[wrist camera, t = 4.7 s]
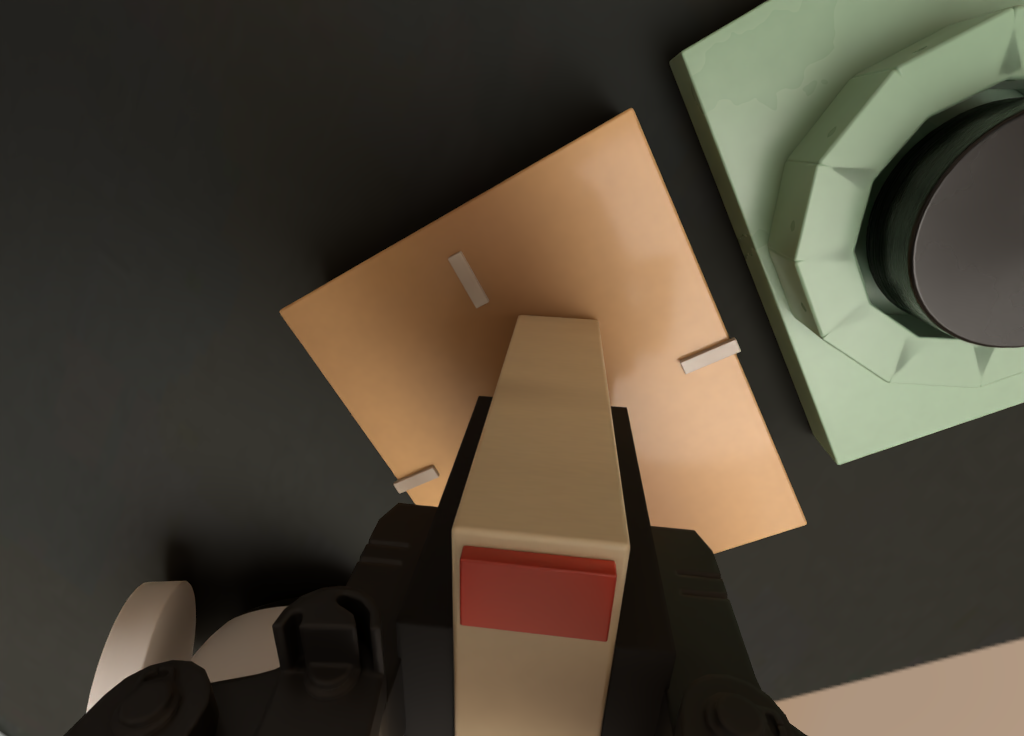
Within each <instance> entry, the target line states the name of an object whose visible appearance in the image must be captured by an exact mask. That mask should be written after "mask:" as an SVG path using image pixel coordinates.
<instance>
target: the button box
mask: <svg viewBox="0 0 1024 736" xmlns="http://www.w3.org/2000/svg"><path fill="white" fill-rule="evenodd" d="M669 64H670V67H671V70H672V72H673V75H674V77H675V80H676V82H677V85H678V88H679V90H680V93H681V95H682V98H683V100H684V103H685V106H686V108H687V111H688V113H689V116H690V118H691V121H692V124H693V126H694V129H695V131H696V134H697V136H698V139H699V142H700V144H701V147H702V149H703V152H704V154H705V157H706V160H707V162H708V165H709V167H710V170H711V173H712V175H713V178H714V180H715V183H716V185H717V188H718V191H719V193H720V196H721V198H722V201H723V203H724V206H725V209H726V211H727V214H728V216H729V219H730V221H731V224H732V227H733V229H734V232H735V234H736V237H737V239H738V242H739V245H740V247H741V250H742V252H743V255H744V257H745V260H746V263H747V265H748V268H749V270H750V273H751V275H752V278H753V281H754V283H755V286H756V288H757V291H758V294H759V296H760V299H761V301H762V304H763V306H764V309H765V312H766V314H767V317H768V319H769V322H770V324H771V327H772V330H773V332H774V335H775V337H776V340H777V342H778V345H779V348H780V350H781V353H782V355H783V358H784V360H785V363H786V366H787V368H788V371H789V373H790V376H791V378H792V381H793V384H794V386H795V389H796V391H797V394H798V396H799V399H800V402H801V404H802V407H803V409H804V412H805V415H806V417H807V420H808V422H809V425H810V427H811V430H812V433H813V435H814V437H815V438H816V439H817V440H818V442H819V443H820V444H821V445H822V447H823V448H824V449H825V450H826V452H827V453H828V454H829V455H830V456H831V458H832V459H833V460H834V461H835V463H836V464H837V465H841V464H843V463H846V462H849V461H852V460H855V459H858V458H861V457H864V456H867V455H870V454H873V453H876V452H879V451H882V450H885V449H888V448H891V447H894V446H896V445H899V444H902V443H905V442H908V441H911V440H914V439H917V438H920V437H923V436H926V435H929V434H932V433H935V432H938V431H941V430H944V429H947V428H950V427H952V426H955V425H958V424H961V423H964V422H967V421H970V420H973V419H976V418H979V417H982V416H985V415H988V414H991V413H994V412H997V411H1000V410H1003V409H1005V408H1008V407H1011V406H1014V405H1017V404H1020V403H1023V402H1024V347H1020V348H993V347H985V346H979V345H975V344H971V343H967V342H964V341H962V340H959V339H957V338H954V337H952V336H950V335H948V334H946V333H944V332H942V331H941V330H939V329H937V328H935V327H933V326H931V325H929V324H927V323H925V322H923V321H921V320H919V319H917V318H915V317H913V316H911V315H910V314H908V313H906V312H904V311H903V310H901V309H899V308H898V307H896V306H895V305H894V304H893V303H891V302H890V301H889V300H888V299H887V298H886V297H885V296H884V294H883V293H882V292H881V291H880V289H879V288H878V286H877V285H876V283H875V281H874V279H873V277H872V274H871V272H870V269H869V265H868V260H867V255H866V232H867V225H868V221H869V216H870V213H871V210H872V207H873V204H874V201H875V199H876V197H877V195H878V193H879V191H880V189H881V187H882V185H883V183H884V182H885V180H886V179H887V177H888V176H889V174H890V172H891V171H892V170H893V169H894V167H895V166H896V165H897V163H898V162H899V161H900V160H901V158H902V157H903V156H904V155H905V154H906V153H907V152H908V151H909V150H910V149H911V148H912V147H913V146H914V145H915V144H916V143H918V142H919V141H920V140H921V139H922V138H924V137H925V136H926V135H927V134H928V133H930V132H931V131H933V130H934V129H935V128H937V127H938V126H940V125H941V124H943V123H944V122H946V121H948V120H950V119H951V118H953V117H955V116H957V115H959V114H960V113H963V112H965V111H967V110H970V109H972V108H975V107H977V106H980V105H983V104H987V103H990V102H993V101H997V100H1003V99H1009V98H1015V97H1024V0H767V1H766V2H764V3H762V4H760V5H759V6H757V7H755V8H754V9H752V10H750V11H749V12H747V13H745V14H744V15H742V16H740V17H738V18H737V19H735V20H733V21H732V22H730V23H728V24H727V25H725V26H723V27H722V28H720V29H718V30H717V31H715V32H713V33H711V34H710V35H708V36H706V37H705V38H703V39H701V40H700V41H698V42H696V43H695V44H693V45H691V46H689V47H688V48H686V49H684V50H683V51H681V52H680V53H679V54H678V55H677V56H675V57H674V58H673V59H672V60H671V61H670V62H669Z"/></svg>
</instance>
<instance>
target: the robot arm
mask: <svg viewBox="0 0 1024 736" xmlns="http://www.w3.org/2000/svg"><path fill="white" fill-rule="evenodd" d="M492 399H493V397H489V396H479V397H478V399H477V402H476V405H475V407H474V410H473V413H472V416H471V418H470V421H469V424H468V426H467V429H466V432H465V435H464V437H463V440H462V443H461V445H460V448H459V451H458V453H457V456H456V459H455V462H454V464H453V467H452V470H451V472H450V475H449V478H448V481H447V483H446V486H445V489H444V491H443V494H442V497H441V500H440V502H439V505H438V507H434V506H424V505H413V504H403V503H398V504H397V505H396V506H395V507H393V508H392V509H391V510H390V511H389V512H388V513H386V514H385V515H384V516H383V517H382V518H381V519H379V521H378V523H377V525H376V527H375V529H374V531H373V533H372V535H371V537H370V539H369V543H368V544H367V545H366V547H365V549H364V551H363V552H362V554H361V556H360V561H359V562H357V564H356V566H355V568H354V570H353V572H352V574H351V576H350V578H349V580H348V582H347V584H346V586H333V587H325V588H320V589H318V590H315V591H313V592H310V593H308V594H305V595H303V596H301V597H300V598H298V599H297V600H296V601H294V602H293V603H292V604H290V605H289V606H288V607H286V608H285V609H284V610H283V611H282V613H281V614H280V615H279V617H278V618H277V619H276V621H275V622H274V623H273V625H272V629H273V634H274V639H275V644H276V649H277V654H278V659H279V664H280V667H278V668H276V669H274V670H270V671H267V672H263V673H259V674H255V675H249V676H244V677H239V678H233V679H228V680H223V681H217V682H212V683H211V682H210V680H209V678H208V675H207V673H206V670H205V669H204V668H202V667H200V666H199V665H197V664H195V663H194V662H192V661H181V660H170V661H166V662H162V663H158V664H154V665H150V666H148V667H146V668H144V669H142V670H140V671H138V672H136V673H134V674H132V675H130V676H128V677H126V678H125V679H123V680H122V681H121V682H120V683H119V684H117V685H116V686H115V687H114V688H112V689H111V690H110V691H109V692H107V693H106V694H105V695H104V696H103V697H102V698H101V699H100V700H99V701H98V702H97V703H96V704H95V705H94V706H93V707H92V708H91V709H90V710H89V711H88V712H87V713H86V714H85V715H84V716H83V717H82V718H81V719H80V720H79V721H78V722H77V723H76V724H75V725H74V726H73V727H72V728H71V729H70V730H69V731H68V732H67V733H66V734H65V735H64V736H454V672H453V601H452V526H453V523H454V520H455V517H456V514H457V510H458V507H459V504H460V501H461V498H462V494H463V491H464V488H465V485H466V482H467V478H468V475H469V472H470V469H471V466H472V462H473V459H474V456H475V453H476V450H477V447H478V443H479V440H480V437H481V434H482V431H483V427H484V424H485V421H486V418H487V415H488V411H489V408H490V405H491V402H492ZM611 413H612V420H613V427H614V434H615V441H616V448H617V456H618V463H619V470H620V477H621V484H622V491H623V498H624V505H625V512H626V519H627V527H628V534H629V541H630V554H629V560H628V566H627V573H626V579H625V585H624V592H623V598H622V604H621V611H620V617H619V623H618V630H617V636H616V642H615V649H614V655H613V661H612V668H611V674H610V680H609V687H608V693H607V699H606V706H605V712H604V718H603V725H602V731H601V736H807V735H805V734H804V733H802V732H801V731H800V730H798V729H797V728H796V727H794V726H793V725H791V724H790V723H789V721H788V719H787V717H786V715H785V714H784V713H783V712H782V710H781V709H780V708H779V707H778V706H777V705H776V703H775V702H774V701H773V700H772V699H771V698H770V696H768V695H767V694H765V693H764V692H763V691H762V690H761V688H760V686H759V684H758V682H757V680H756V677H755V674H754V671H753V668H752V665H751V662H750V660H749V657H748V654H747V651H746V648H745V645H744V642H743V639H742V636H741V633H740V630H739V627H738V624H737V621H736V618H735V615H734V612H733V609H732V607H731V604H730V601H729V600H728V599H727V592H726V589H725V586H724V583H723V580H722V579H721V577H720V576H721V574H720V571H719V568H718V565H717V562H716V559H715V557H714V554H713V551H712V550H711V549H710V547H709V546H708V545H707V544H706V543H705V542H704V541H703V539H702V538H701V537H700V536H699V535H698V534H697V532H696V531H695V530H689V529H678V528H668V527H658V526H651V525H650V520H649V515H648V510H647V505H646V500H645V495H644V490H643V485H642V480H641V475H640V470H639V465H638V460H637V455H636V450H635V445H634V440H633V435H632V430H631V425H630V420H629V415H628V410H627V407H615V406H611Z"/></svg>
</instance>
